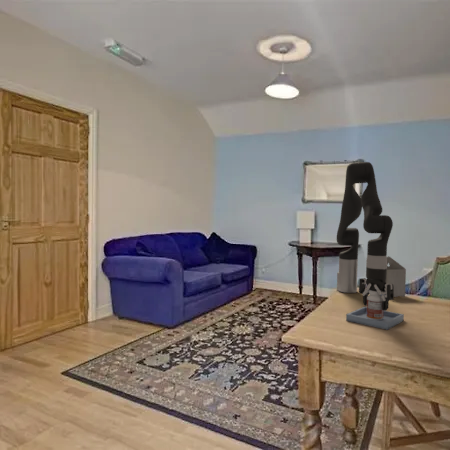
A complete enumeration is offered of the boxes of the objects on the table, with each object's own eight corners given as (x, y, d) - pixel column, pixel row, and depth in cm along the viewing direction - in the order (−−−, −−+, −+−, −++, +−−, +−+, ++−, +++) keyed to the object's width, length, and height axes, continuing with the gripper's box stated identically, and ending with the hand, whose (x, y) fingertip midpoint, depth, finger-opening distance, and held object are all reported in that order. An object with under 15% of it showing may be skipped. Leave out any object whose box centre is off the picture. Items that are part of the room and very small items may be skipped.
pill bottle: (371, 315, 156) (372, 288, 156) (386, 318, 151) (387, 290, 151) (363, 317, 152) (364, 290, 152) (378, 321, 148) (378, 293, 147)
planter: (367, 295, 195) (368, 256, 194) (370, 292, 202) (372, 255, 201) (403, 299, 187) (404, 259, 186) (405, 296, 193) (406, 257, 192)
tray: (346, 320, 152) (346, 314, 151) (364, 312, 163) (364, 306, 163) (387, 329, 140) (387, 323, 140) (403, 320, 152) (403, 314, 152)
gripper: (355, 264, 155) (354, 304, 156) (386, 270, 143) (384, 313, 143) (367, 263, 159) (366, 302, 159) (399, 268, 146) (397, 310, 147)
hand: (375, 307), depth 151 cm, fingers open, 8 cm apart
